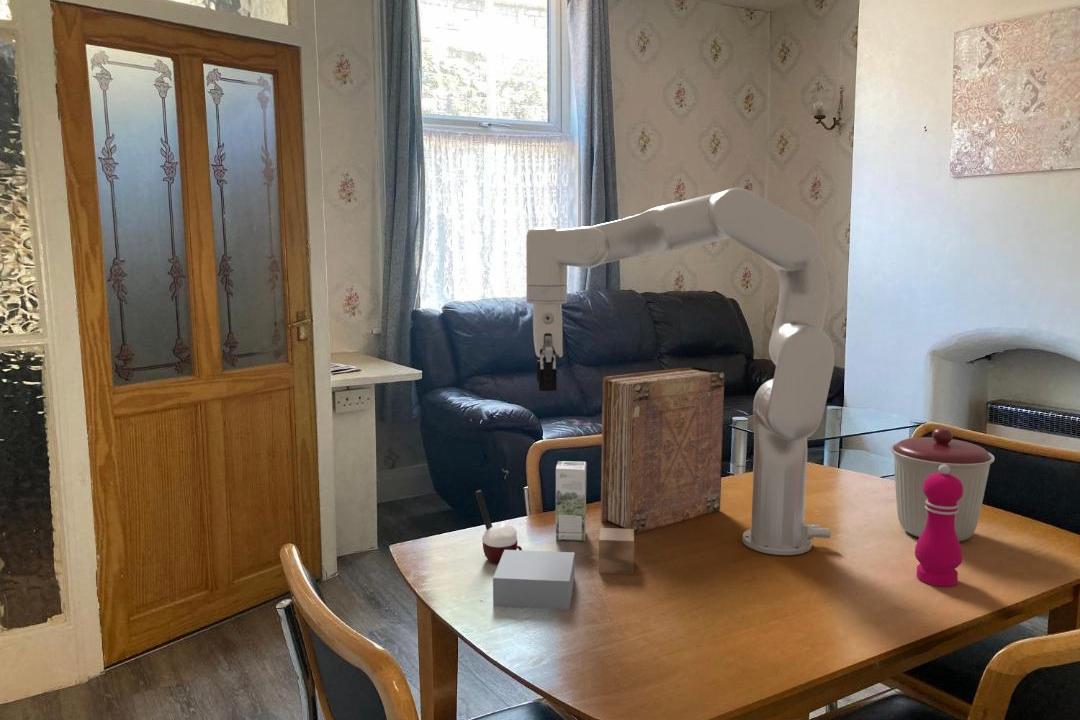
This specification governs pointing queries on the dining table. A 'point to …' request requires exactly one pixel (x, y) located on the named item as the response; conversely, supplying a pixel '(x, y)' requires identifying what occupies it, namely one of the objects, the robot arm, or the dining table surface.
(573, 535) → the syrup box
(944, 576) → the pepper mill
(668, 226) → the robot arm
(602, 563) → the walnut cube
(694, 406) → the book
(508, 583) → the grey block
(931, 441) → the canister
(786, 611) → the dining table surface
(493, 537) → the cocoa
